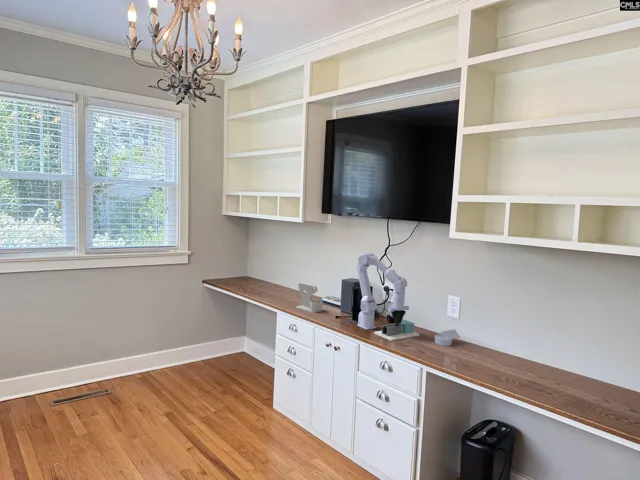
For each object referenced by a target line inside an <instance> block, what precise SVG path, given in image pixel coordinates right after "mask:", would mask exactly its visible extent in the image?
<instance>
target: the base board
mask: <svg viewBox="0 0 640 480" xmlns="http://www.w3.org/2000/svg"><path fill="white" fill-rule="evenodd" d="M373 334H374V335H376V336H379V337H381V338H384V339H387V341H397V340H402V339H409V338H415V337H419V336H420V333H418V332H416V331H414V332H413V333H407V334H405V333H402V332H401V334H397V335H392V336H386V335H383V334H382V330H378V331H377V330H376V331H373Z"/></svg>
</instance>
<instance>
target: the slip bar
mask: <svg viewBox="0 0 640 480" xmlns="http://www.w3.org/2000/svg"><path fill="white" fill-rule="evenodd" d="M399 322H400V320H398V324H395V323H394V324H395V325H399ZM402 331H404V325H401V332H402Z"/></svg>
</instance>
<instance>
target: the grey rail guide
mask: <svg viewBox="0 0 640 480" xmlns="http://www.w3.org/2000/svg"><path fill="white" fill-rule="evenodd" d="M381 331H382V334H383V335H386V336H392V335H397V334H401V325H395V323H389V324H383V325H382V326H381Z"/></svg>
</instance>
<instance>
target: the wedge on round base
mask: <svg viewBox="0 0 640 480" xmlns="http://www.w3.org/2000/svg"><path fill="white" fill-rule="evenodd" d="M460 338H461V336H460V334H459V333H458V331H457V330H456V328H455V329H447V330H443V331H441V332H440V333H438V334H435V335H434V343H435V344H436V345H438V346H445V347H448V346H451V345H453V344H452V342H453V341H452V340H456V339H460Z"/></svg>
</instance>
